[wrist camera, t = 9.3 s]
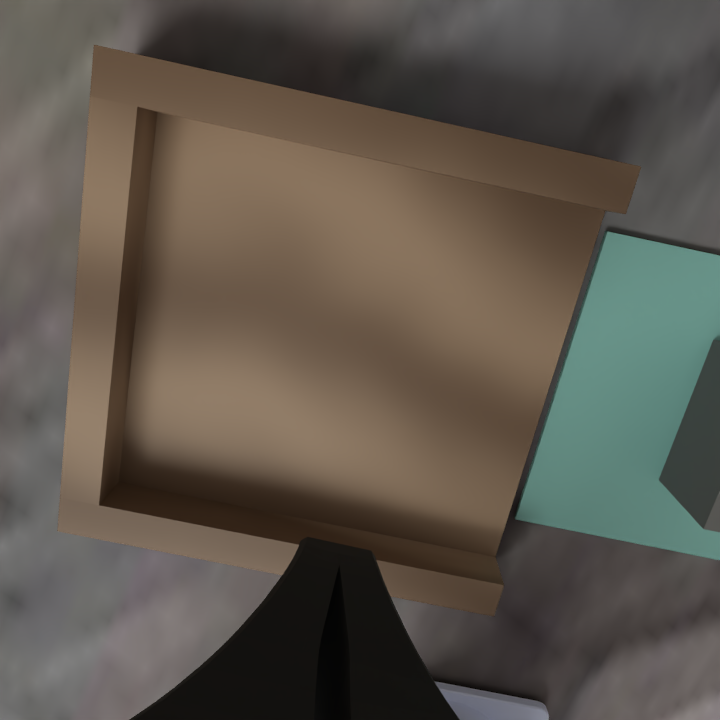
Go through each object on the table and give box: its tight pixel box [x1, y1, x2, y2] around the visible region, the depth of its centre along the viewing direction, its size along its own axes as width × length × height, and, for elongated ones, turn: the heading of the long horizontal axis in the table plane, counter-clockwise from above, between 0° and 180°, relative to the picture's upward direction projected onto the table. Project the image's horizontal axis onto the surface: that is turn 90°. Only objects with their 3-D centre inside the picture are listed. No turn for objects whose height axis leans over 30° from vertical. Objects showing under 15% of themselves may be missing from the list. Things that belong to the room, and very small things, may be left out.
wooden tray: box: [57, 45, 641, 616], centre depth 19 cm, size 14×14×2 cm
